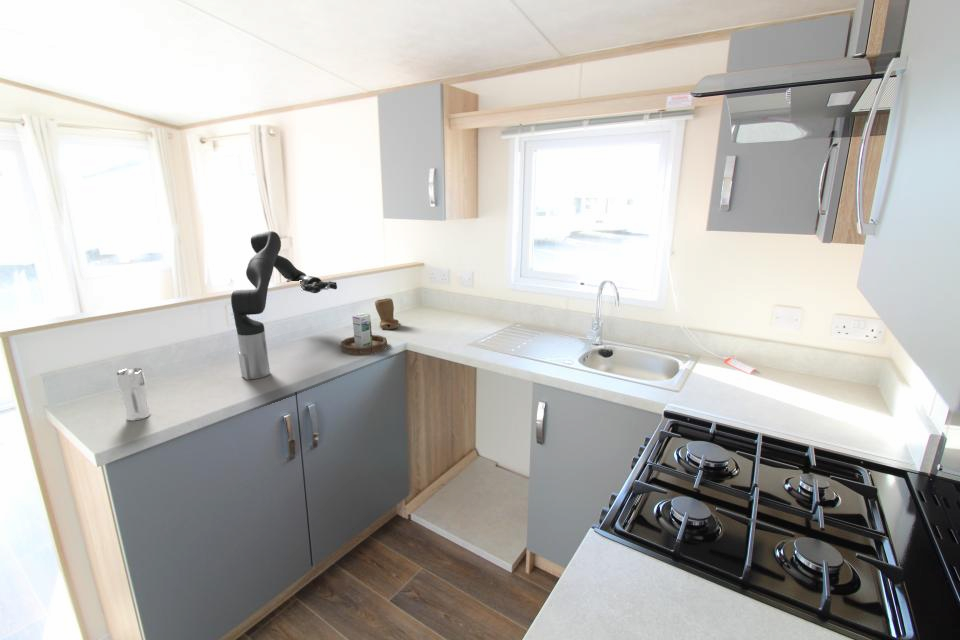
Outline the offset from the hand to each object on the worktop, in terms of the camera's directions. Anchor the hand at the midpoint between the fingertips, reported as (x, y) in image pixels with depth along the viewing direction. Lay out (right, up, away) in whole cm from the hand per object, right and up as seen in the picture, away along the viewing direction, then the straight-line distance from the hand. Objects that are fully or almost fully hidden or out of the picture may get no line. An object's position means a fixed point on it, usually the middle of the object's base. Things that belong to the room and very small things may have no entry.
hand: (327, 288), depth 204 cm
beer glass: (-38, -45, -62) cm, 85 cm away
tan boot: (+20, -18, +37) cm, 46 cm away
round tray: (+16, -27, +3) cm, 31 cm away
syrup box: (+16, -26, +2) cm, 31 cm away
